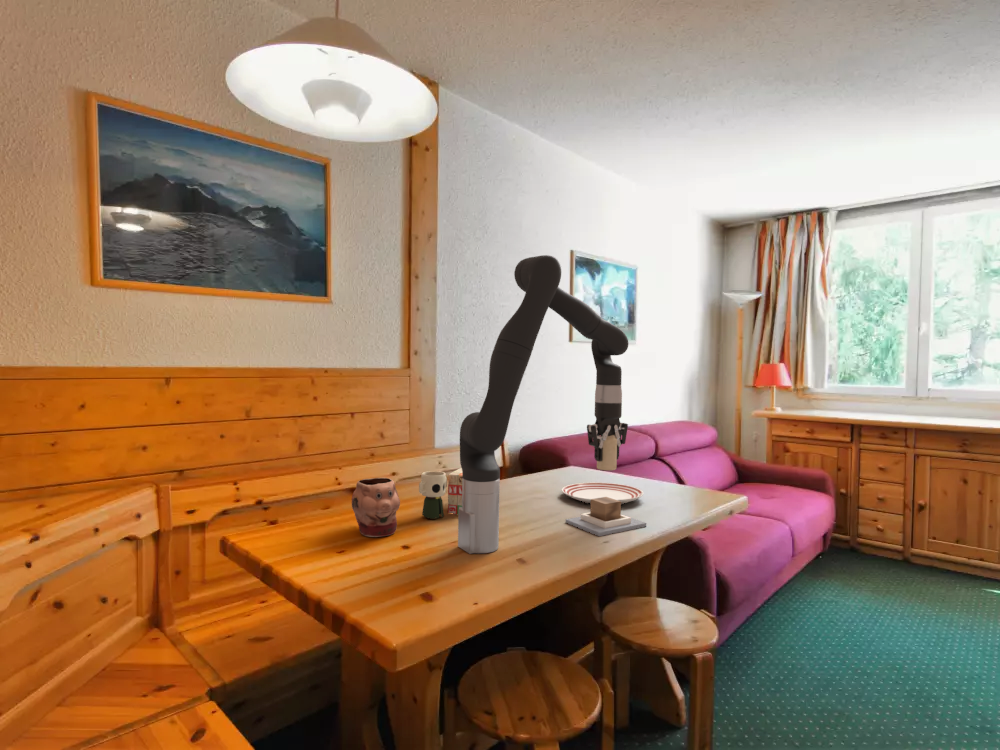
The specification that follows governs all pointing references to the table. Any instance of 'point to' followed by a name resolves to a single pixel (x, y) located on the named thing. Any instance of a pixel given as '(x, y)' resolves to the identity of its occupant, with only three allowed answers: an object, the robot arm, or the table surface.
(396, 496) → the decorative planter
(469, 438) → the robot arm
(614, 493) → the dinner plate
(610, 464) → the candle
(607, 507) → the walnut block
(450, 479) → the stack of blocks
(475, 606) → the table surface
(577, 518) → the baseplate
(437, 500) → the character mug
